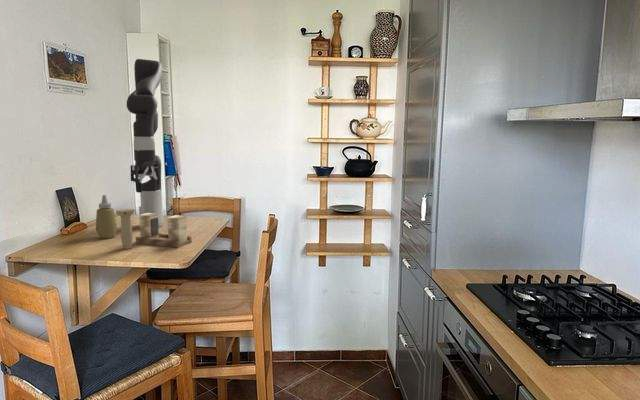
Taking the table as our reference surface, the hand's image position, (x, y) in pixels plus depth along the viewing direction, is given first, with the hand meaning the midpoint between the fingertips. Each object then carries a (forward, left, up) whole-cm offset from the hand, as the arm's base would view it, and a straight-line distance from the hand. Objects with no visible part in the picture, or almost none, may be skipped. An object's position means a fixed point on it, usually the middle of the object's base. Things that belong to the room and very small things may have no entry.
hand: (146, 190), depth 169 cm
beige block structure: (+2, +6, -22) cm, 23 cm away
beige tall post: (-5, -6, -22) cm, 24 cm away
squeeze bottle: (-25, +5, -22) cm, 34 cm away
